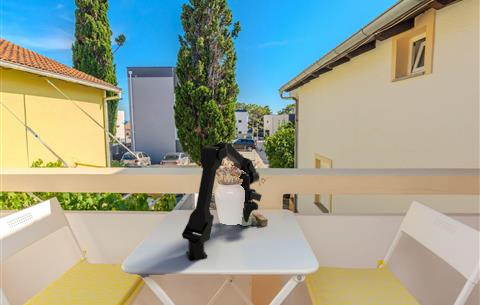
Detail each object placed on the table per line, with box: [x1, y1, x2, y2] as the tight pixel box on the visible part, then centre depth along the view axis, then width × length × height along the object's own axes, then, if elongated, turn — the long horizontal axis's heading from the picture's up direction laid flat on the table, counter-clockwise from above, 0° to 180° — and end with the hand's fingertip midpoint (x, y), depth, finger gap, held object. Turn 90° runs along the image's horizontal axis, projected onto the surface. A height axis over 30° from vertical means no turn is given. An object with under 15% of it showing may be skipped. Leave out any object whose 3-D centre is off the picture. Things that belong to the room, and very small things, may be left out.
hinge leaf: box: [241, 215, 256, 227], centre depth 132 cm, size 7×8×3 cm
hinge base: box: [251, 212, 269, 227], centre depth 134 cm, size 10×6×3 cm, turn 23°
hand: (243, 219), depth 131 cm, fingers closed on hinge leaf, 7 cm apart
